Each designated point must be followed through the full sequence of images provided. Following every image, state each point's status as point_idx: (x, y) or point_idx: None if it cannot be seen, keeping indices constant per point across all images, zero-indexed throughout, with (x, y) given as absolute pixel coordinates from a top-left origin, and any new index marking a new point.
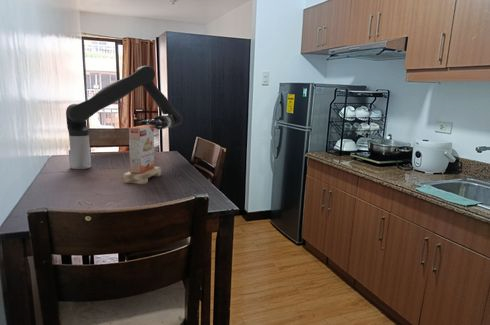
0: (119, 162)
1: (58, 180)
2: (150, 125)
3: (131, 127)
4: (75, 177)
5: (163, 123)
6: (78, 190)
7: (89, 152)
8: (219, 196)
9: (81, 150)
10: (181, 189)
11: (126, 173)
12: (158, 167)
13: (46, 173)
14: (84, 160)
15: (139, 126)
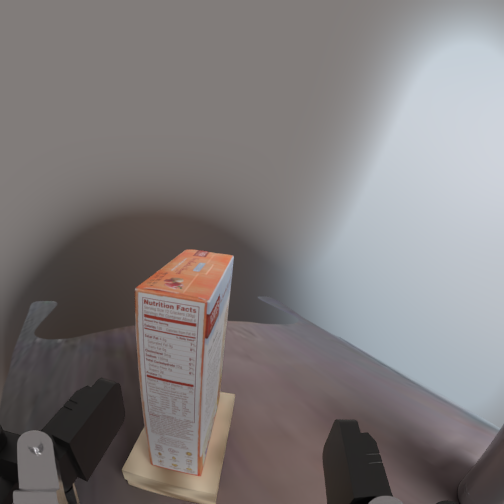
0: None
1: (398, 404)
2: (156, 286)
3: (226, 256)
4: (392, 428)
5: (10, 434)
6: (298, 369)
7: (498, 471)
8: (26, 327)
9: (496, 437)
10: (77, 363)
11: (228, 399)
12: (132, 464)
13: (473, 426)
14: (474, 470)
15: (203, 264)
